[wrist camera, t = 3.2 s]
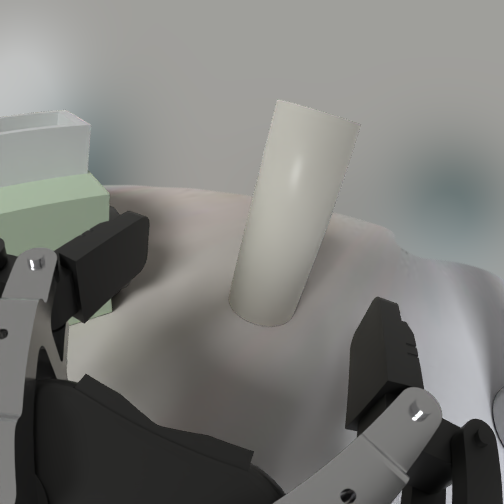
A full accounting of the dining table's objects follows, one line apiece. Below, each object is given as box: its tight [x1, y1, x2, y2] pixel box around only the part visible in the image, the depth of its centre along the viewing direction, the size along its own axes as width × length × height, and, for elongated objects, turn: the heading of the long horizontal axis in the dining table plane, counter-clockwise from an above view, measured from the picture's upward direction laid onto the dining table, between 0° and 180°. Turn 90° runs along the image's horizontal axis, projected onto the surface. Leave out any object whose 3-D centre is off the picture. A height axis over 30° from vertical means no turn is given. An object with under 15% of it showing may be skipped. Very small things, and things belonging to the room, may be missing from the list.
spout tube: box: [229, 99, 361, 327], centre depth 19 cm, size 5×5×14 cm
